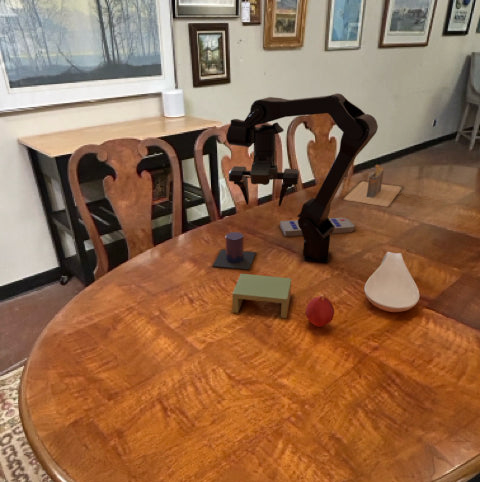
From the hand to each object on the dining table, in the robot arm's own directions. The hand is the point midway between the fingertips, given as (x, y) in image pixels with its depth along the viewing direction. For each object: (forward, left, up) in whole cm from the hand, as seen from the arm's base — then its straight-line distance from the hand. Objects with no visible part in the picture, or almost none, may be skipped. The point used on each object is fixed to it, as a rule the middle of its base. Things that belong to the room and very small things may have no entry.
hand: (263, 205), depth 119 cm
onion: (-18, +38, -12) cm, 44 cm away
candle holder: (+6, +12, -12) cm, 18 cm away
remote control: (-15, -13, -12) cm, 23 cm away
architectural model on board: (-35, -52, -12) cm, 64 cm away
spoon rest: (-34, +21, -12) cm, 42 cm away
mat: (+6, +12, -12) cm, 18 cm away
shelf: (-5, +32, -12) cm, 35 cm away
